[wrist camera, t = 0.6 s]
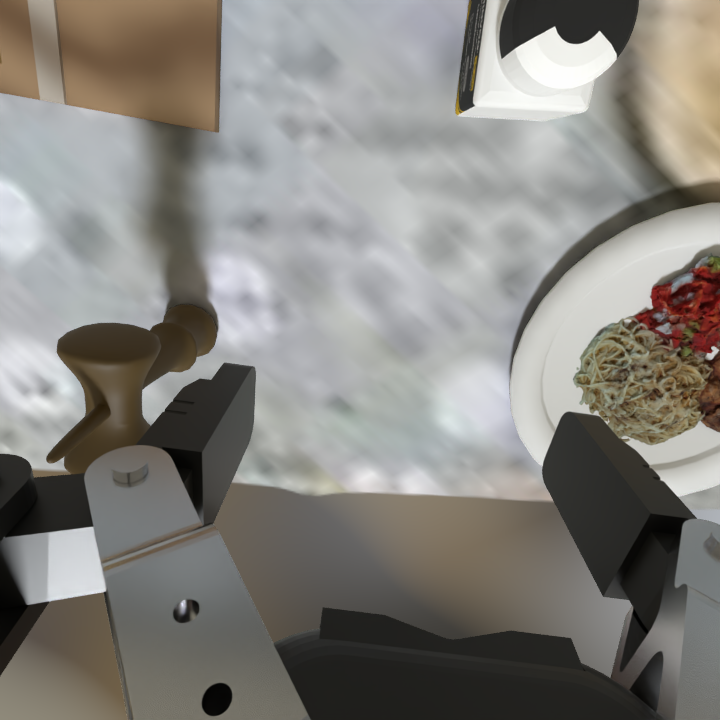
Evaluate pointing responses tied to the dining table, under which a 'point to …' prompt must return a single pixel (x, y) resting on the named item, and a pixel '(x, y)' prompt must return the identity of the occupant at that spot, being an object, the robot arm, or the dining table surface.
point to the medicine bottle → (538, 55)
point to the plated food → (633, 347)
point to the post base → (116, 56)
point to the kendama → (124, 377)
